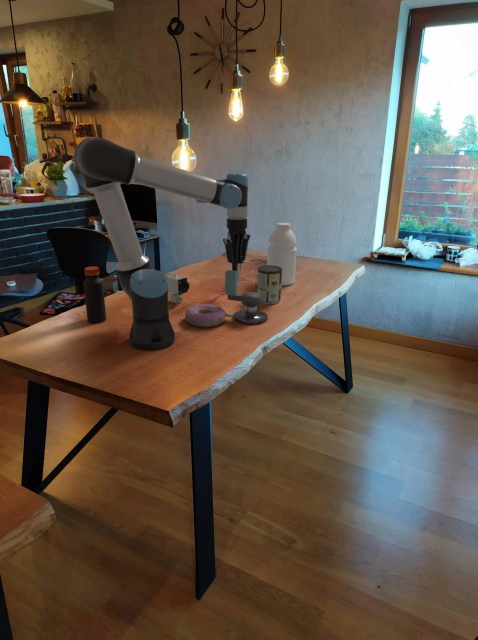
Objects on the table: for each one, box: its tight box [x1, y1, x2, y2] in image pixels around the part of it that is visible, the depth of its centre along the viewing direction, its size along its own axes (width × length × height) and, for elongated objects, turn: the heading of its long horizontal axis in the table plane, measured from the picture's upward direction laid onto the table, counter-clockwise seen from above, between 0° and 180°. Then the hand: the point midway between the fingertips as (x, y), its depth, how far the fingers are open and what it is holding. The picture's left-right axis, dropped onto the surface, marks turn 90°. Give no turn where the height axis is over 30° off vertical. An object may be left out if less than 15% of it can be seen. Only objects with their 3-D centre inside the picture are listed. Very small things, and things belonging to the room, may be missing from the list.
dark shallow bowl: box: [225, 305, 269, 326], centre depth 174 cm, size 13×16×6 cm
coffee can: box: [256, 264, 282, 305], centre depth 192 cm, size 10×10×14 cm
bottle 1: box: [82, 266, 107, 324], centre depth 166 cm, size 7×7×20 cm
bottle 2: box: [266, 222, 298, 287], centre depth 214 cm, size 14×14×28 cm
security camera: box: [165, 273, 190, 304], centre depth 188 cm, size 6×12×12 cm, turn 53°
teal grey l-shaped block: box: [224, 269, 261, 306], centre depth 171 cm, size 14×7×12 cm, turn 72°
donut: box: [184, 303, 227, 328], centre depth 170 cm, size 16×15×5 cm
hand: (236, 279), depth 174 cm, fingers closed
